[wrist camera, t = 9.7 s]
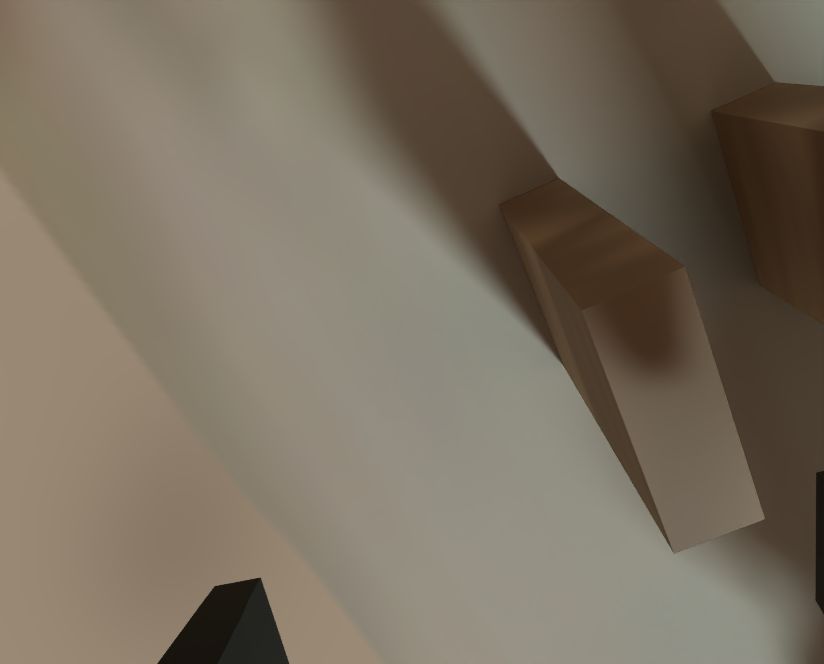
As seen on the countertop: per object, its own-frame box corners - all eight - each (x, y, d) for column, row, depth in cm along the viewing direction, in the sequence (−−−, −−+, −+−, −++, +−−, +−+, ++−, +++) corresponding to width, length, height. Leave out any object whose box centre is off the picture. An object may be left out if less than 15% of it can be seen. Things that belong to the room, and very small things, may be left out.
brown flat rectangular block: (559, 177, 18) (685, 266, 11) (619, 342, 20) (764, 519, 12) (498, 205, 18) (581, 310, 11) (563, 365, 20) (673, 553, 13)
